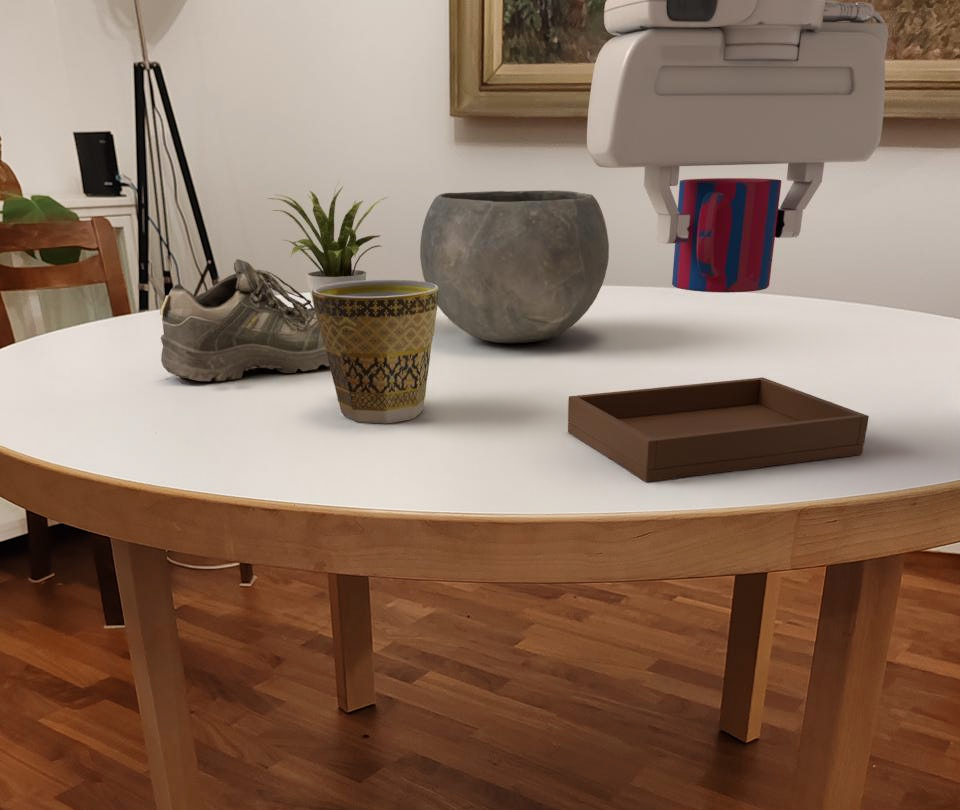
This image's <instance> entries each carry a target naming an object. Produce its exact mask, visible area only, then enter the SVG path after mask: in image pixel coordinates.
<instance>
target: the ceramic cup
mask: <svg viewBox="0 0 960 810" xmlns="http://www.w3.org/2000/svg"><path fill="white" fill-rule="evenodd" d="M312 297H313V301H312V304H313V303H314V305H313V308H315V313H316V317H317V321H318V325H319V329H320V333H321V336H322V340H323V343H324V346H325V349H326V353H327V357H328V362H329V366H328V367H329V369H330V374H331V377H332V382H333V385H334V389H335V393H336V394H335V395H336V397H337V401H338V405H339V409H340V412H341V414H342V415H343V417H346V418H348V419H350V420H352V421H354V422H356V423H368V424H392V423H393V424H394V423H399V422H404V421H405V422H406V421H410V420H411V421H412V420H414V419H415V418H416V417H418V415H420V414H421V413H422V412H423V409H424V407H425V400H426V394H427V393H426V392H427V384H428V376H429V368H430V361H431V350H432V343H433V338H434V334H435V328H436V322H437V321H436V320H437V312H438V306H437V305H438V286H437V285H435V284H432V283H428V282H425V281H422V280H411V279H366V280H361V281H347V282H339V283H332V284H327V285H322V286H319V287H316V288H314V289H313V290H312ZM312 297H311V298H312Z"/></svg>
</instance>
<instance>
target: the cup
mask: <svg viewBox="0 0 960 810" xmlns="http://www.w3.org/2000/svg"><path fill="white" fill-rule="evenodd" d="M678 186H679V187H678V197H677V198H678V199H677V208H678V211H679V213H682V214H690V225H689V227H688V228H687V230H688V232H689V237H688V240H687V242H685V243H674V253H673V263H672V265H673V266H672V280H671V285H672V286H673V287H674V288H677V289H680V290H685V291H690V292H691V291H692V292H701V293H722V294H723V293H725V294H727V293H728V294H729V293H749V292H751V293H752V292H757V291H758V292H759V291H763V290H766V289H768V288H770V287H769V286H770V282H771V273H772V265H773V257H774V250H775V249H774V247H775V242H776V241H775V238H776V237H775V232H776V224H777V215H778V208H780V207H779V206H780V198H781V189H782V180H781V179H776V178H775V179H774V178H757V177H754V178H752V177H749V178H748V177H721V178H720V177H715V178H713V177H710V178H709V177H707V178H689V179H681V180H679V183H678Z"/></svg>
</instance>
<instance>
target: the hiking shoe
mask: <svg viewBox="0 0 960 810" xmlns="http://www.w3.org/2000/svg"><path fill="white" fill-rule="evenodd" d="M233 270H234V272H235V273H233V274H230V275H228V276H227V277H225V278H223V279H222V280H220V281H218V282H217V283H216V284H214V285H213V286H212V287H210V288H208V289H207V290H206V291H204V292H202V293H201V294H198V295H194V294H193V293H192V292H191V291H190V290H188V289H187V288H185V287H184V286H183V285H181V284H179V283H177V284H175V285H174V286H173V287H172V288H171V289H170V291H169V293H168V294H167V295H165V298H164V300H163V303H162V305H161V306H160V310H159V315H161V316H162V318H161V323H162V329H163V334H161V336H160V340H161V345H162V350H161V357H160V361H161V365H162V367H163V369H165V370H166V371H167V373H168V374H171V375H174V376H176V377H180V378H182V379H185V378H186V379H189V380H191V381H197V382H208V383H209V382H211V381H214V382H225V381H226V380H228V381H229V380H230V381H231V380H239V379H240V380H241V379H242V377H243V373H244V372H247V371H250V370H254V369H257V368H258V369H268V370H269V369H270V370H275V369H276V371H277V372H280V373H283V374H293V373H296V372H297V371H299V370H301V372H308V371H312V370H318V369H319V368H320V367H321V366H325V367H330V366H329V362H328V357H327V353H326V349H325V346H324V343H323V340H322V336H321V333H320V329H319V325H318V321H317V317H316V313H315V308H314V305H313V304H312V300H311V299H307V297H305V296H304V295H303V294H301V293H300V292H299V291H298V290H296V289H295V288H293V287H292V285H290V284H288V283H286V282H285V281H284V280H283V279H282V278H280V277H279V276H277V275H275V274H274V273H272V272H271V271H268V270H262V269H255V268H254V267H253V266H252V265H251V264H250V263H249V262H247V261H245V260H242V259H238V258H236V260H235V261H234V262H233ZM277 280H278V281H279V282H281V283H282V284H283V285H285V286H287V287H289V288H290V289H291V291H292V292H293V293H292V292H290V291H288V290H286V289H284V287H282V285H281V284H280V283H279V282H278V281H277ZM273 291H274V292H276V293H278V294H279V295H280V296H281V297H282V298H283V299H285V300H286V301H287V302H289V303H291V305H292V306H293V307H292V306H288V305H287V304H286V303H285V302H283V301H282V300H281V299H280V298H278V297H277V296H276V295H275V293H274V292H273ZM294 293H295V294H294ZM289 294H290V295H292V296H294V297H297V298H299V299H302V300H304V301H305V302H304V303H302V302H300V301H299V300H297V299H296V298H293V297H291V296H290V295H289ZM308 305H309V306H310V308H308V307H307V306H308Z"/></svg>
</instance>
